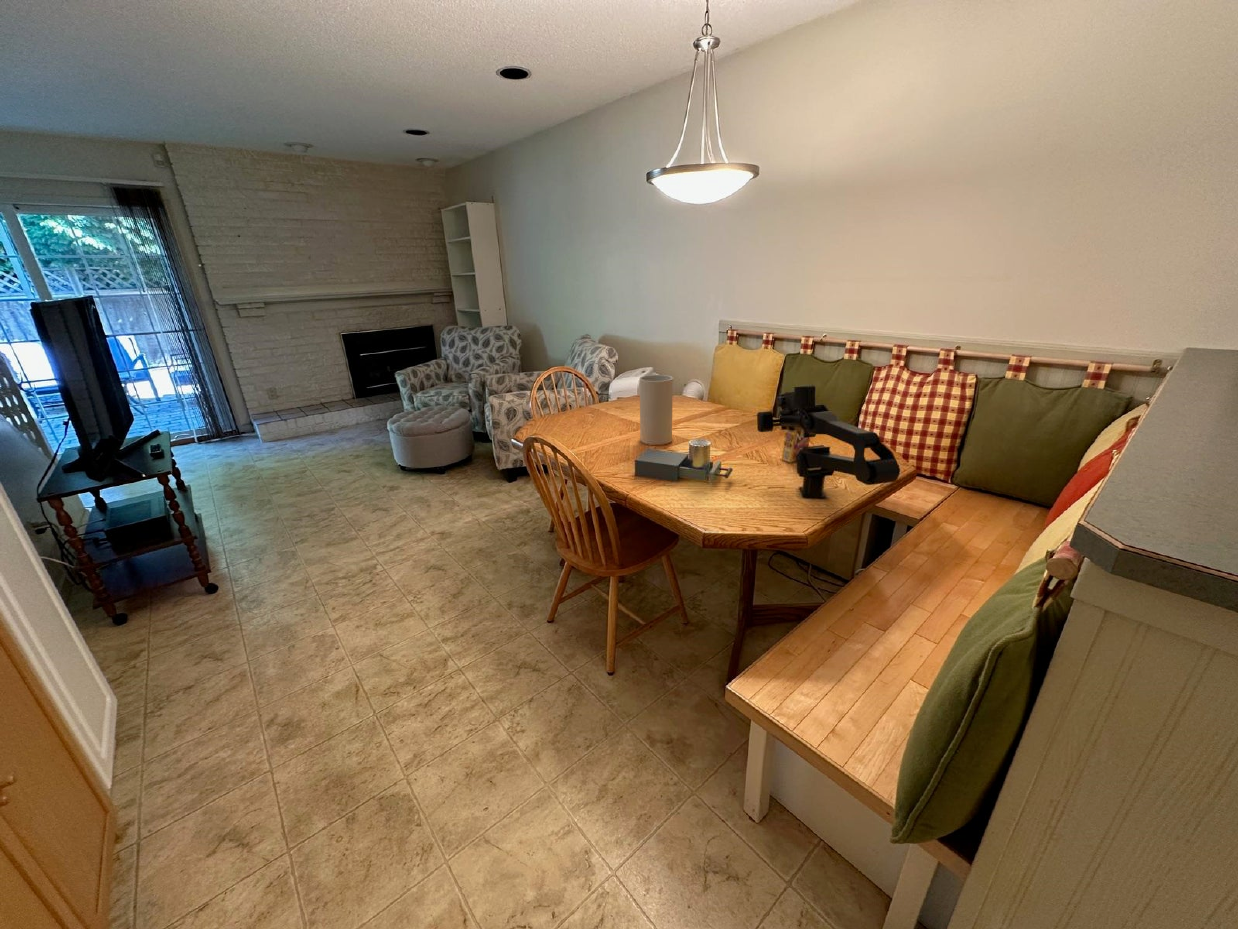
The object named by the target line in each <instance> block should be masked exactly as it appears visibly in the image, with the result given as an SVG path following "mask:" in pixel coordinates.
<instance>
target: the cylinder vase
mask: <svg viewBox="0 0 1238 929" xmlns="http://www.w3.org/2000/svg"><path fill="white" fill-rule="evenodd" d="M673 383H674V378H673V376H671V375H665V374H648V375H642V376H640V377H639V425H640V427H639V435H640V436H639V437H640V442H641V443H642V444H645V445H648V446H649V445H650V446H662V445H668V444H669V443H671V442H672V440H673V400H674V399H673V398H674V394H673V391H674V390H673V389H674V388H673V387H674V386H673V385H674V384H673Z"/></svg>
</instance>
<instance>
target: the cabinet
mask: <svg viewBox="0 0 1238 929" xmlns="http://www.w3.org/2000/svg"><path fill="white" fill-rule="evenodd" d="M686 458H689V453H686V452H677V451H671V450H661V449H653V448H646V449H645V450H644V451H643V452H641V454H640V455H639V456H638V457H637V458H635V459H634V476H635V477H640V478H646V479H647V478H648V479H654V480H655V479H656V480H661V481H668V482H673V483H678V482H679V481H680V480H681V479H682V478H681V477H678V467H679V466H680V465H681V464H682V463H683V461H684V460H685V459H686Z"/></svg>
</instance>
